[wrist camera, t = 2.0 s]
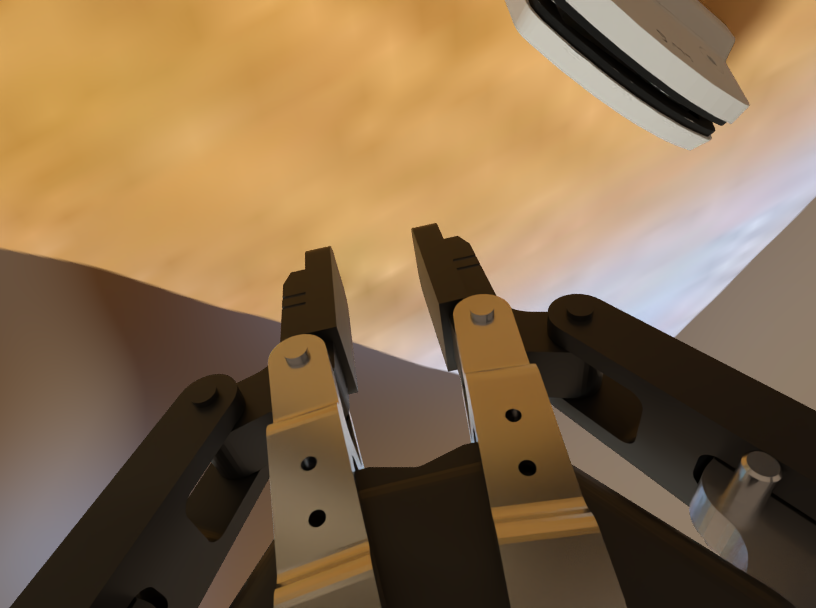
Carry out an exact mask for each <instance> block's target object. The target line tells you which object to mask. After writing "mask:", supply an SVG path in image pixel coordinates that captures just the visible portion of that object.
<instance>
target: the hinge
mask: <svg viewBox="0 0 816 608" xmlns="http://www.w3.org/2000/svg"><path fill="white" fill-rule="evenodd" d="M505 2H506V5H507V7H508V10H509V12H510V15H511V18H512V20H513V23H514V26H515V28H516V29H517V31H518V32H519V33H520V35H521V36H522V37H523V38H524V39H525V40H526V41H528V42H529V43H530V44H531V45H532V46H533V47H534V48H536V49H537V50H538V51H539V52H540V53H541V54H542V55H543V56H545V57H546V58H547V59H548V60H549V61H551V62H552V63H553V64H554V65H555V66H557V67H558V68H559V69H560V70H561V71H563V72H564V73H565V74H566V75H568V76H569V77H570V78H572V79H573V80H574V81H575V82H577V83H578V84H579V85H581V86H582V87H583V88H584V89H586V90H587V91H588V92H589V93H591V94H592V95H593V96H595V97H596V98H598V99H599V100H600V101H602V102H603V103H605V104H606V105H608V106H609V107H610V108H612V109H613V110H615V111H616V112H618V113H619V114H620V115H622V116H624V117H625V118H627V119H628V120H630V121H631V122H633V123H634V124H636V125H638V126H639V127H641V128H643V129H645V130H647V131H648V132H650V133H652V134H654V135H655V136H657V137H659V138H661V139H663V140H665V141H667V142H669V143H671V144H674V145H676V146H679V147H681V148H684V149H687V150H692V149H694V148H696V147H698V146H700V145H702V144H704V143H706V142H708V141H710V140H711V139H712V137H711V134H712V133H713V132H715V127H714V125H713V123H712V122H714V123H716V124H718V125H720V126H722V125H724V124H725V123H726V122H728V123H730V124H732V123H733V122H734V121H735V120H736V119H737V118H738V117H739V116H740V115H741V114H742V113H743V112H744V111H745V110H746V109H747V108H748V107H749V106H750V105H749V102H748V100H747V99H746V97H745V95H744V93H743V92H742V90H741V88H740V87H739V85H738V83H737V81H736V80H735V78H734V76H733V74H732V73H731V71H730V69H729V68H728V66H727V64H726V59H727V57H728V55H729V53H730V51H731V49H732V47H733V44H734V42H735V37H734V36H733V35H732V33H731V32H730V30H729V29H728V28H727V26H726V25H725V24H724V23H723V22H722V21H720V20H719V19H718V18H717V17H716V16H715V15H714V14H713V13H711V12H710V11H709V10H708V9H707V8H706V7H705V6H704V5H702V4H701V3H700V2H699V1H698V0H505Z"/></svg>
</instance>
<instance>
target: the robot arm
mask: <svg viewBox="0 0 816 608" xmlns="http://www.w3.org/2000/svg"><path fill="white" fill-rule="evenodd" d="M411 230H412V238H413V244H414V250H415V256H416V262H417V268H418V273H419V278H420V283H421V287H422V291H423V294H424V297H425V301H426V304H427V307H428V310H429V313H430V316H431V319H432V322H433V325H434V329H435V332H436V335H437V338H438V341H439V344H440V347H441V350H442V354H443V357H444V360H445V363H446V366H447V369H448V371H453V370H457V369H458V372H459V375H460V378H461V385H462V393H463V399H464V404H465V410H466V415H467V421H468V427H469V432H470V438H471V443H470V444H466V445H462V446H460V447H458V448H456V449H454V450H452V451H450V452H448V453H446V454H444V455H442V456H440V457H438V458H436V459H434V460H433V461H430V462H428V463H426V464H425V465H422V466H419V467H368V468H364V465H363V461H362V457H361V454H360V449H359V446H358V442H357V438H356V434H355V430H354V426H353V422H352V418H351V415H350V413H349V396H348V394H352V393H357V392H358V386H357V378H356V369H355V361H354V352H353V344H352V335H351V327H350V318H349V310H348V304H347V299H346V295H345V291H344V287H343V284H342V280H341V277H340V274H339V270H338V267H337V264H336V260H335V257H334V253H333V250H332V248H331V246H328V247H324V248H319V249H315V250H310V251H306V252H305V270H300V271H296V272H291V273H290V275H289V277H288V278H287V280H286V281H285V283H284V285H283V300H282V308H283V310H282V319H281V340H280V343H279V344H278V345H277V346H276V347H275V348H274V349H273V350H272V352H271V354H270V355H269V358H268V366H267V367H266V368H265V369H263V370H262V371H260V372H258V373H256V374H255V375H253V376H250V377H248V378H246V379H244V380H242V381H240V382H238V383H236V382H235V380H234V379H233V378H231V377H230V376H228V375H224V374H214V375H209V376H206V377H203V378H201V379H198V380H197V381H195V382H193V383H192V384H190V385H189V386H188V387H187V388H186V389H185V390H184V391H183V392H182V393H181V394H180V395H179V397H178V398H177V399H176V400H175V402H174V403H173V404H172V405H171V407H170V408H169V409H168V410H167V412H166V413H165V414H164V415H163V417H162V418H161V419H160V420H159V422H158V423H157V424H156V425H155V427H154V428H153V429H152V430H151V432H150V433H149V434H148V435H147V437H146V438H145V439H144V440H143V442H142V443H141V444H140V445H139V447H138V448H137V449H136V451H135V452H134V453H133V454H132V455H131V457H130V458H129V459H128V460H127V462H126V463H125V464H124V465H123V467H122V468H121V469H120V470H119V472H118V473H117V474H116V475H115V477H114V478H113V479H112V480H111V482H110V483H109V484H108V486H107V487H106V488H105V489H104V490H103V492H102V493H101V494H100V495H99V497H98V498H97V499H96V500H95V502H94V503H93V504H92V505H91V507H90V508H89V509H88V510H87V512H86V513H85V514H84V515H83V517H82V518H81V519H80V520H79V522H78V523H77V524H76V525H75V527H74V528H73V529H72V530H71V532H70V533H69V534H68V535H67V537H66V538H65V539H64V540H63V542H62V543H61V544H60V545H59V547H58V548H57V549H56V550H55V552H54V553H53V554H52V555H51V557H50V558H49V559H48V560H47V562H46V563H45V564H44V565H43V567H42V568H41V569H40V570H39V572H38V573H37V574H36V575H35V577H34V578H33V579H32V580H31V582H30V583H29V584H28V585H27V587H26V588H25V589H24V590H23V592H22V593H21V594H20V595H19V597H18V598H17V599H16V600H15V602H14V603H13V604H12V605H11V607H10V608H198V606H199V605H200V603H201V601H202V599H203V597H204V596H205V594H206V592H207V590H208V588H209V586H210V585H211V583H212V581H213V579H214V577H215V575H216V573H217V572H218V570H219V568H220V567H221V564H222V563H223V561H224V559H225V557H226V556H227V553H228V552H229V550H230V548H231V546H232V545H233V543H234V541H235V539H236V537H237V536H238V534H239V532H240V530H241V528H242V527H243V524H244V523H245V521H246V519H247V517H248V516H249V514H250V512H251V510H252V508H253V507H254V505H255V503H256V501H257V499H258V497H259V496H260V494H261V492H262V490H263V488H264V487H265V484H266V483H267V481H268V479H269V477H270V488H271V501H272V514H273V527H274V540H273V541H272V543H271V544H270V546H269V547H268V549H267V550H266V552H265V553H264V555H263V556H262V558H261V560H260V561H259V563H258V564H257V566H256V567H255V569H254V570H253V572H252V573H251V575H250V576H249V578H248V579H247V581H246V583H245V584H244V586H243V587H242V588H241V590H240V592H239V593H238V595H237V596H236V598H235V599H234V601H233V602H232V604H231V605H230V607H229V608H816V411H815V410H813V409H811V408H809V407H807V406H805V405H803V404H801V403H800V402H797V401H796V400H794V399H792V398H790V397H788V396H786V395H784V394H782V393H780V392H778V391H776V390H774V389H772V388H771V387H768V386H767V385H765V384H763V383H761V382H759V381H757V380H755V379H753V378H751V377H749V376H747V375H745V374H743V373H741V372H739V371H737V370H736V369H734V368H732V367H730V366H728V365H726V364H724V363H722V362H720V361H718V360H716V359H714V358H712V357H710V356H708V355H707V354H705V353H702V352H701V351H699V350H696V349H695V348H693V347H691V346H689V345H687V344H685V343H683V342H681V341H679V340H677V339H675V338H674V337H672V336H670V335H668V334H666V333H664V332H662V331H660V330H658V329H656V328H654V327H652V326H650V325H648V324H646V323H644V322H643V321H641V320H639V319H637V318H635V317H633V316H631V315H629V314H627V313H625V312H623V311H621V310H619V309H617V308H615V307H613V306H612V305H610V304H608V303H606V302H604V301H602V300H600V299H598V298H596V297H593V296H589V295H584V294H570V295H565V296H562V297H560V298H558V299H556V300H555V301H553V302H552V303H551V305H550V306H549V308H548V312H525V311H519V310H515V309H512V308H511V307H510V305H509V304H508V302H506V301H505V300H504V299H502V298H500V297H498V296H496V294H495V292H494V290H493V288H492V286H491V284H490V282H489V281H488V279H487V277H486V275H485V273H484V271H483V269H482V267H481V265H480V263H479V261H478V259H477V257H476V256H475V253H474V251H473V249H472V247H471V245H470V244H469V243H468V242H466V241H465V240H463V239H462V238H460V237H459V236H455V237H450V238H446V239H443V237H442V234H441V232H440V230H439V227H438V225H437V223H434V224H429V225H425V226H420V227H416V228H412V229H411ZM551 404H552V405H553V406H554V407H555V408H557V409H558V410H560V411H561V412H562V413H564V414H565V415H566V416H568V417H569V418H570V419H572V420H573V421H574V422H576V423H577V424H578V425H580V426H581V427H582V428H584V429H585V430H586V431H588V432H589V433H591V434H592V435H593V436H595V437H596V438H597V439H599V440H600V441H601V442H603V443H604V444H605V445H607V446H608V447H609V448H611V449H612V450H613V451H615V452H616V453H617V454H619V455H620V456H621V457H623V458H624V459H625V460H627V461H628V462H630V463H631V464H632V465H634V466H635V467H636V468H638V469H639V470H640V471H642V472H643V473H644V474H646V475H647V476H648V477H650V478H651V479H652V480H654V481H655V482H657V483H658V484H659V485H661V486H662V487H663V488H665V489H666V490H667V491H669V492H670V493H671V494H673V495H674V496H675V497H677V498H678V499H679V500H681V501H682V502H683V503H685V504H686V505H688V506H689V513H690V517H691V520H692V523H693V525H694V527H695V529H696V530H697V532H698V533H699V534H700V535H701V537H702V538H703V539H704V540H705V543H706V544H707V546H708V547H709V548H710V549H711V550H713V551H714V552H716V553H718V554H719V555H720V556H718V555H717V554H715V553H713V552H712V551H710V550H709V549H707V548H706V547H704V546H702V545H701V544H699V543H697V542H696V541H694V540H693V539H691V538H689V537H688V536H686V535H685V534H683V533H681V532H680V531H678V530H676V529H675V528H673V527H672V526H670V525H668V524H667V523H665V522H664V521H662V520H660V519H659V518H657V517H656V516H654V515H652V514H651V513H649V512H647V511H646V510H644V509H643V508H641V507H640V506H638V505H636V504H635V503H633V502H631V501H630V500H628V499H627V498H625V497H623V496H622V495H620V494H619V493H617V492H615V491H614V490H612V489H610V488H609V487H607V486H606V485H604V484H602V483H601V482H599V481H598V480H596V479H594V478H593V477H591V476H590V475H588V474H586V473H585V472H583V471H582V470H580V469H578V468H577V467H575V466H573V465H572V464H571V461H570V458H569V455H568V452H567V449H566V447H565V444H564V441H563V438H562V435H561V432H560V429H559V427H558V424H557V421H556V418H555V415H554V412H553V409H552V406H551ZM210 462H212V463H211V464H210ZM209 464H210V466H209V467H208V465H209ZM207 467H208V469H207V470H206V468H207ZM205 470H206V472H205V473H204V471H205ZM203 473H204V475H203V476H202V474H203ZM201 476H202V478H201V479H200V477H201ZM199 479H200V481H199V482H198V480H199ZM197 482H198V484H197ZM196 484H197V485H196ZM195 485H196V487H195ZM194 487H195V489H194V490H193V488H194ZM192 490H193V492H192V493H191V491H192ZM190 493H191V495H190V496H189V494H190ZM188 497H189V498H188Z"/></svg>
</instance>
